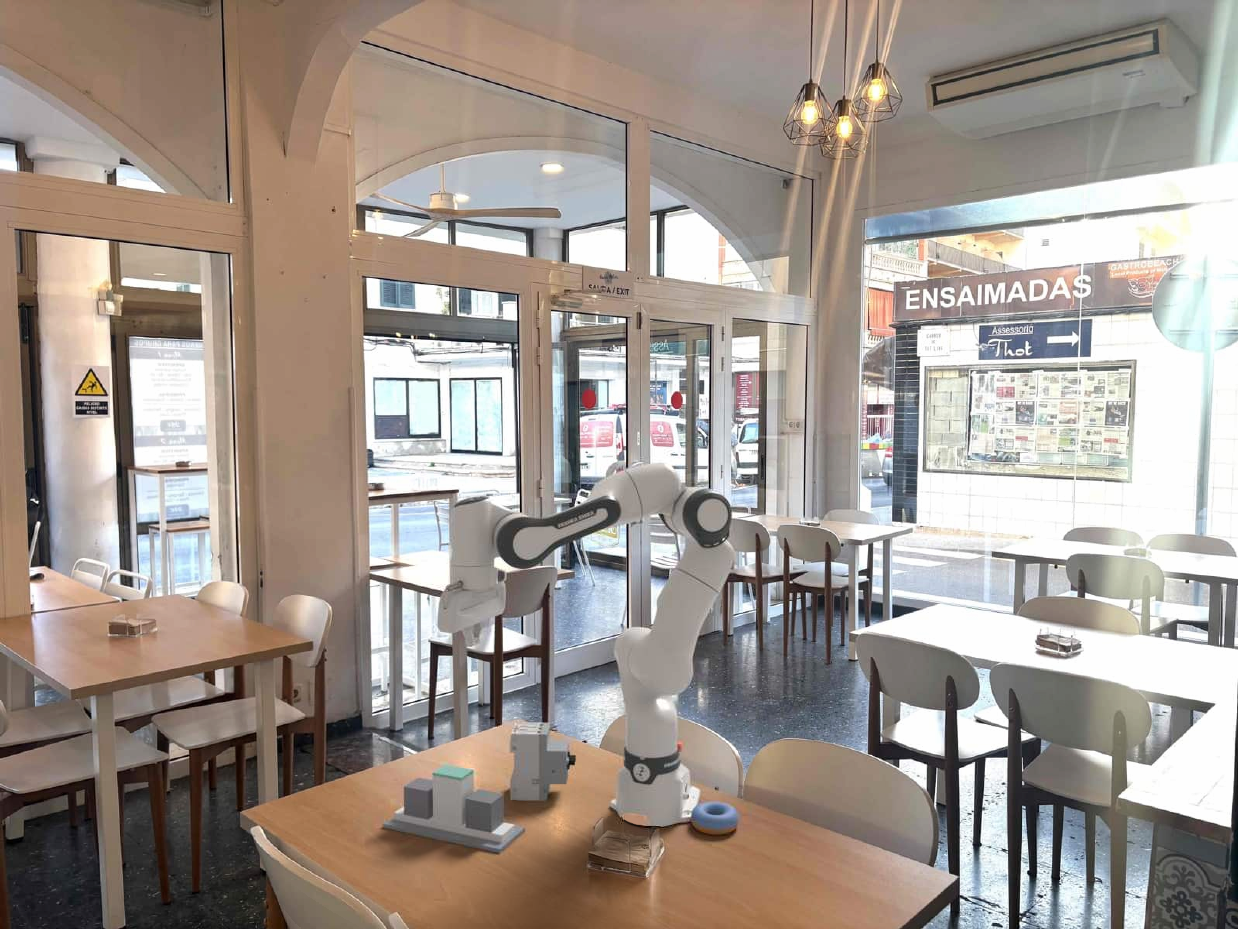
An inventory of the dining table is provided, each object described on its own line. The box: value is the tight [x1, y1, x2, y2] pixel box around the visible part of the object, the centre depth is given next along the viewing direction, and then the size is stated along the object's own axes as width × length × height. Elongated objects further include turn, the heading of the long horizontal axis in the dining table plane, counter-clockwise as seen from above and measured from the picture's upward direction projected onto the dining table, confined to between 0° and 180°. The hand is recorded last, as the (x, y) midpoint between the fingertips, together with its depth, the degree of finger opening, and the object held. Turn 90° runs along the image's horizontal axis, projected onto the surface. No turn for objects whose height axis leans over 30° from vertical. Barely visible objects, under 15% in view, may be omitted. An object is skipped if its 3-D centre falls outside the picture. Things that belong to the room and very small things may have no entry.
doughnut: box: [690, 800, 740, 836], centre depth 186 cm, size 10×10×5 cm
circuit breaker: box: [509, 722, 577, 802], centre depth 201 cm, size 8×14×15 cm, turn 89°
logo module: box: [432, 764, 475, 826], centre depth 183 cm, size 4×7×10 cm, turn 67°
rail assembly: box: [382, 777, 526, 854], centre depth 184 cm, size 10×28×8 cm, turn 67°
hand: (472, 645), depth 180 cm, fingers closed
